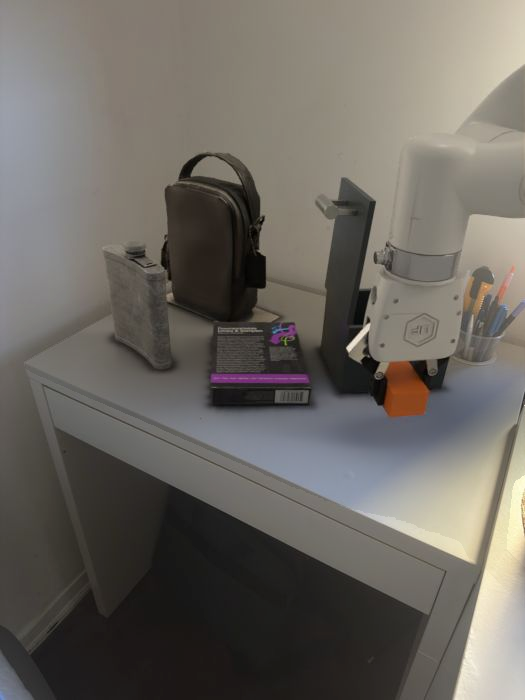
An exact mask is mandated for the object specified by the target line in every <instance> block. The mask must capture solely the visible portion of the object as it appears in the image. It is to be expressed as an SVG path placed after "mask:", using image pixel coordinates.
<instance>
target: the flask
mask: <svg viewBox="0 0 525 700" xmlns="http://www.w3.org/2000/svg"><path fill="white" fill-rule="evenodd" d="M146 249H147V242H146V241H145V240H141V239H130V240H126V241H124V242H123V243H122V245H120V244H108V245H105V246H103V247H102V254H103V261H104V268H105V274H106V282H107V290H108V297H109V302H110V303H109V305H110V310H111V320H112V324H113V331H114V332H113V333H114V338H115V340H116V341H117V342H120V343H122V344H124V345H126V346H128V347H130V348H131V349H133V350H135V351H136V352H137V353H138V354H140V355H141V356H143V357H144V359H146V360H147V361H148V362H149V363H150V365H151V366H152V367H153V368H154V369H156V370H161V371H163V370H164V371H165V370H167V369H169V368H171V367H172V363H173V361H172V351H171V350H172V349H171V336H170V323H169V310H168V301H167V294H168V293H167V282H166V270H165V269H164V268H163V267H162V266H161V263H158V262H157V261H156V260H154V259H152V258H151V257H149V256H147V255H146V254H147V253H146V251H147V250H146Z"/></svg>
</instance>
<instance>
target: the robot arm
mask: <svg viewBox="0 0 525 700" xmlns="http://www.w3.org/2000/svg"><path fill="white" fill-rule="evenodd" d="M472 215H482V216H489V217H498V218H503V219H504V218H505V219H525V63H524V64H522V65H521V66H520V67H519V68H517V69H516V70H514V71H513V72H512V73H511V74H510V75H508V76H507V77H506V78H504V79H503V80H502V81H501V82H500V83H499V84H497V86H495V87H494V89H493V90H491V92H489V93H488V94H487V95H486V96H485V98H484V99H483V100H481V102H480V103H479V104H478V106H476V108H475V109H473V111H472V112H471V113H470V114H469V115H468V116H467V118H465V119H464V121H463V122H462V123H461V125H459V127H457V130H456V131H455V132H454V133H445V132H429V133H419V134H416V135H412V136H411V137H409V138H408V139H407V140H406V141H405V142H404V144H403V145H402V147H401V150H400V155H399V161H398V168H397V175H396V182H395V190H394V197H393V204H392V211H391V218H390V225H389V231H388V232H389V233H388V240H387V241H386V242H385V246H384V249H381V250H379V251H374V252H373V256H372V257H373V263H374V264H375V265H381V267H379V268H378V270H377V273H376V275H375V278H374V281H373V283H372V287H371V288H372V289H371V293H370V296H369V300H368V304H367V309H366V313H365V318H364V324H363V329H362V330H361V331H360V333H359V334H358V335H357V336H356V337H355V338H354V339H353V340H352V342H351V343H350V344H349V345H348V346H347V347H346V352H347V354H348V356H349V357H350V358H352V359H354V360H355V361H357V362H358V363H361V364H362V365H363V366H364V367H365V368H366V369H367V370H368V371H369V372H370V379H369V386H368V391H369V392H368V394H369V397H371V398H373V400H374V402H375V404H376V405H377V406H378V407H383V404H384V399H385V393H386V387H387V384H388V380H387V378H386V376H385V373H386V371H387V368H388V366H389V364H390V362H403V361H418V360H419V363H415V365H414V366H413V369H414V370H415V372H416V373H417V374H418V376H419V377H420V379H421V380H422V382H423V383H424V384H425V385H426V387H427V388H428V390H429V391H430V388H429V386H430V381H431V377H432V376H433V375H435V374H436V373H437V372H438V368H439V367H440V366H441V365H443V364H444V363H445V362H447V361H448V360H449V361H450V359H451V357H455V355H458V354H459V353H460V352H462V351H463V350H464V349H466V344H465V342H464V340H463V339H462V337H461V336H460V332H461V326H462V320H463V312H464V311H463V310H464V300H465V299H464V297H465V295H464V294H465V292H464V291H465V280H464V279H465V278H464V274H463V273H462V272H460V271H459V270H458V269H459V265H460V260H461V256H462V251H463V246H464V242H465V238H466V234H467V229H468V225H469V220H470V216H472ZM368 344H369V352H370V354H371V356H370V355H369V354H368V353H367V352H365V351H363V350H364V349H365V347H366V346H367V345H368Z"/></svg>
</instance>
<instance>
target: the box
mask: <svg viewBox="0 0 525 700" xmlns="http://www.w3.org/2000/svg"><path fill="white" fill-rule="evenodd" d="M212 324H213V325H212V346H211V347H212V349H211V367H210V386H209V387H210V389H209V390H210V403H211V404H212V405H310V402H311V396H312V395H311V394H312V385H311V382H310V378H309V374H308V370H307V367H306V363H305V359H304V355H303V350H302V346H301V343H300V338H299V334H298V330H297V326H296V322H295V321H288V322H287V321H286V322H281V321H279V322H278V321H275V322H273V321H272V322H216V321H213V323H212Z"/></svg>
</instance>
